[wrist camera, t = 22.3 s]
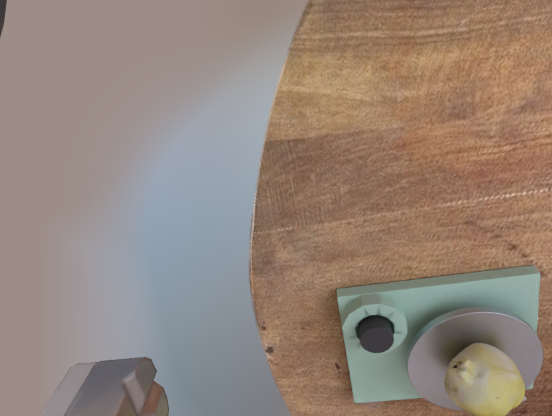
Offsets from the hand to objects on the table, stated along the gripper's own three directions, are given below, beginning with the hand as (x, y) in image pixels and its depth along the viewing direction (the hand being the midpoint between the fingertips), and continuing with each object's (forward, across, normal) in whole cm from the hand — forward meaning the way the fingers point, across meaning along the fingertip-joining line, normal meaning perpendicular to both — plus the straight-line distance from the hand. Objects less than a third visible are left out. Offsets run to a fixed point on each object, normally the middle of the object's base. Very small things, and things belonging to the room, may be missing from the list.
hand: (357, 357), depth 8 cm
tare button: (+26, -2, +22) cm, 33 cm away
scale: (+28, -8, +26) cm, 39 cm away
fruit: (+24, -12, +26) cm, 37 cm away
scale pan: (+25, -11, +26) cm, 38 cm away
